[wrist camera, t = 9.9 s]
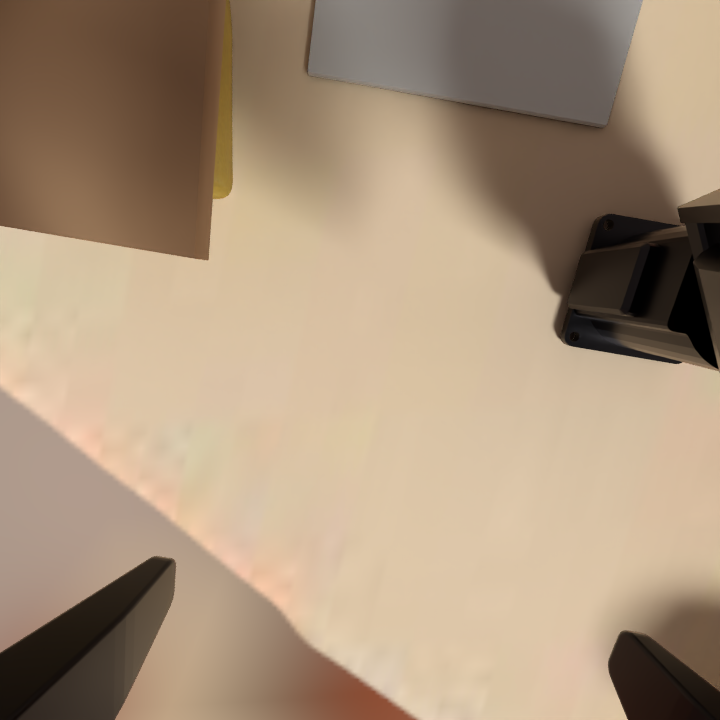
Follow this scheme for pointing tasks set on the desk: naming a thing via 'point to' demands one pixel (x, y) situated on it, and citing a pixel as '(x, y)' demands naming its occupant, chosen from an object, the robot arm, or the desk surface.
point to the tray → (482, 51)
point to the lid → (111, 120)
